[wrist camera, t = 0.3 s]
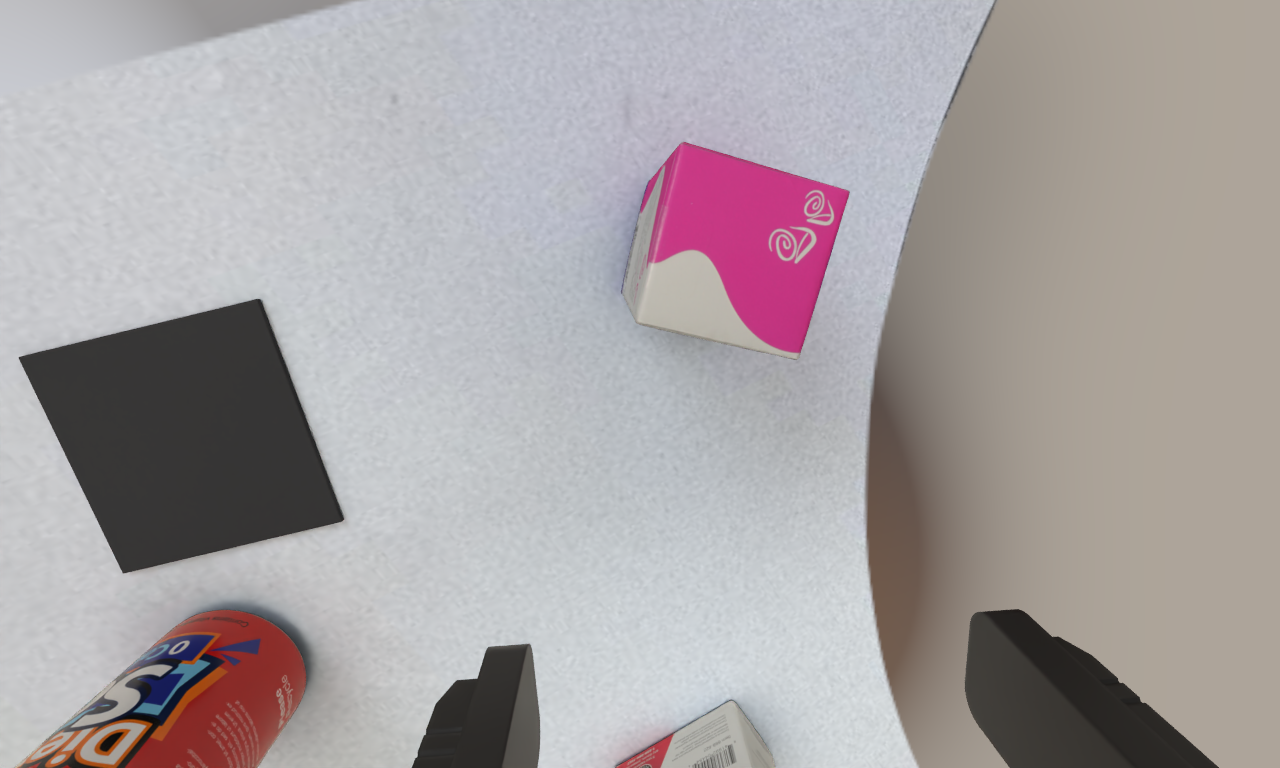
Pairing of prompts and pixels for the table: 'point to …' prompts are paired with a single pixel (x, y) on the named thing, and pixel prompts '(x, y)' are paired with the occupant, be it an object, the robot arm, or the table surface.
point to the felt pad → (185, 435)
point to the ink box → (709, 744)
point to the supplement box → (731, 251)
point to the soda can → (188, 701)
